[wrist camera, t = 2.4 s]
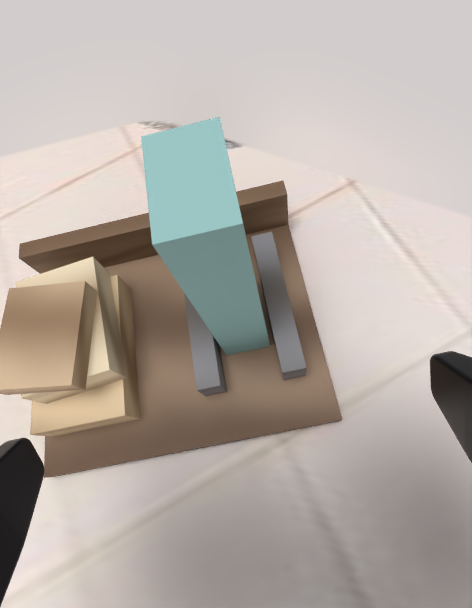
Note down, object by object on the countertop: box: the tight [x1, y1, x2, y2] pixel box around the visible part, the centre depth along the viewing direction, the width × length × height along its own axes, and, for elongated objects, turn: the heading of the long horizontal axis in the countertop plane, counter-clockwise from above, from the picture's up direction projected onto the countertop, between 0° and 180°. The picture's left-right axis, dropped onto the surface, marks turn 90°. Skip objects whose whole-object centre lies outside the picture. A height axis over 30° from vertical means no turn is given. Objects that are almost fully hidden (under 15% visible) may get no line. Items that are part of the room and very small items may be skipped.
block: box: [141, 117, 270, 355], centre depth 16 cm, size 4×2×12 cm, turn 10°
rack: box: [0, 181, 342, 478], centre depth 20 cm, size 13×16×6 cm
